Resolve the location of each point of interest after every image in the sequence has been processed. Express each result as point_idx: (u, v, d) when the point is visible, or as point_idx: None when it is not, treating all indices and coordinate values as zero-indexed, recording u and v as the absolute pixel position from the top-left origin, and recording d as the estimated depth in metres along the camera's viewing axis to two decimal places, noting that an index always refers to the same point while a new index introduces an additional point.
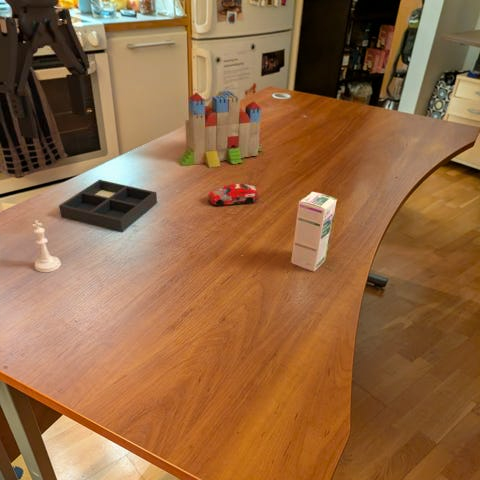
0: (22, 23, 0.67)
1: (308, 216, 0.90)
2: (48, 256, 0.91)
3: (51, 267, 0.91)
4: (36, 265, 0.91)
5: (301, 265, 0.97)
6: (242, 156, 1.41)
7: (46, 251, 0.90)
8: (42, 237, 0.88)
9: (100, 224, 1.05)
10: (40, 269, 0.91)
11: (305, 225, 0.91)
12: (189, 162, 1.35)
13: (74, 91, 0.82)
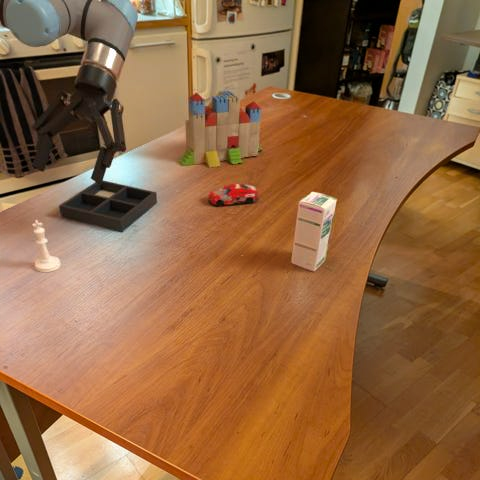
0: None
1: (308, 216, 0.90)
2: (48, 256, 0.91)
3: (51, 267, 0.91)
4: (36, 265, 0.91)
5: (301, 265, 0.97)
6: (242, 156, 1.41)
7: (46, 251, 0.90)
8: (42, 237, 0.88)
9: (100, 224, 1.05)
10: (40, 269, 0.91)
11: (305, 225, 0.91)
12: (189, 162, 1.35)
13: (45, 149, 0.92)
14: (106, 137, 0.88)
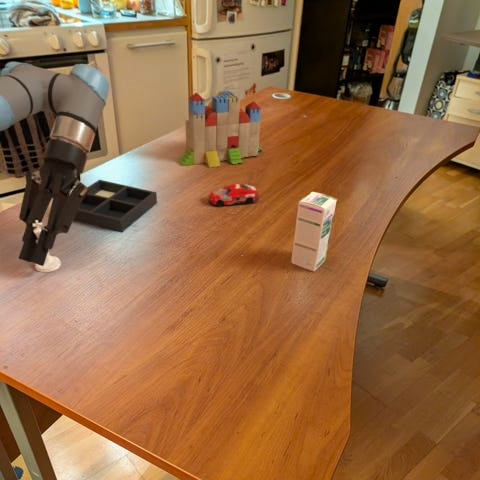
0: None
1: (308, 216, 0.90)
2: (48, 256, 0.91)
3: (51, 267, 0.91)
4: (36, 265, 0.91)
5: (301, 265, 0.97)
6: (242, 156, 1.41)
7: None
8: None
9: (100, 224, 1.05)
10: (40, 269, 0.91)
11: (305, 225, 0.91)
12: (189, 162, 1.35)
13: (32, 241, 0.88)
14: (51, 220, 0.87)
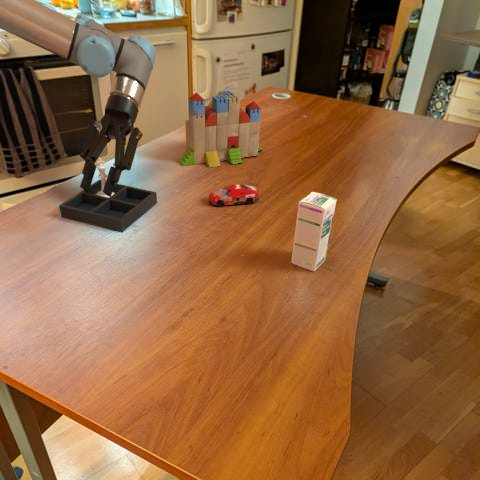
0: None
1: (308, 216, 0.90)
2: None
3: None
4: None
5: (301, 265, 0.97)
6: (242, 156, 1.41)
7: None
8: (103, 172, 1.11)
9: (100, 224, 1.05)
10: None
11: (305, 225, 0.91)
12: (189, 162, 1.35)
13: (90, 173, 1.11)
14: (118, 158, 1.09)
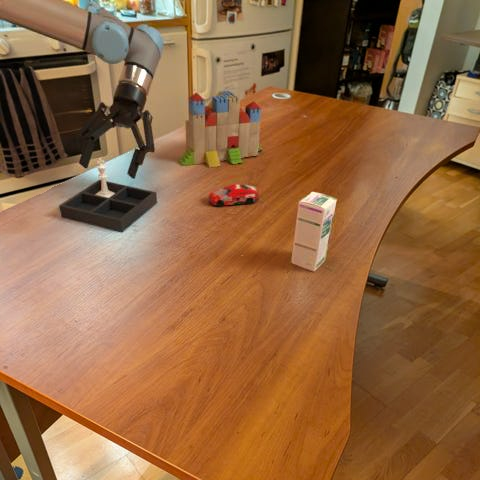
0: None
1: (308, 216, 0.90)
2: (107, 189, 1.14)
3: None
4: None
5: (301, 265, 0.97)
6: (242, 156, 1.41)
7: (105, 185, 1.13)
8: (103, 172, 1.11)
9: (100, 224, 1.05)
10: None
11: (305, 225, 0.91)
12: (189, 162, 1.35)
13: (88, 150, 1.14)
14: (139, 141, 1.10)
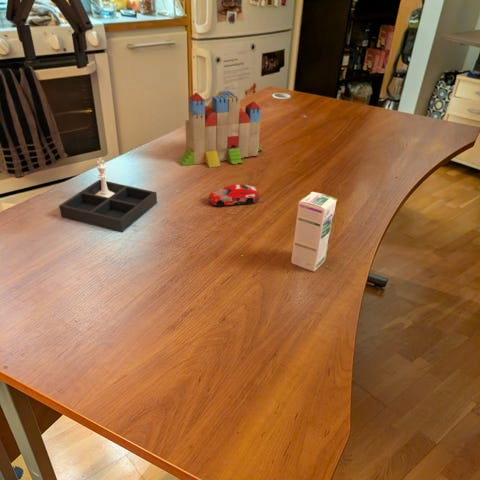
0: None
1: (308, 216, 0.90)
2: (107, 189, 1.14)
3: None
4: None
5: (301, 265, 0.97)
6: (242, 156, 1.41)
7: (105, 185, 1.13)
8: (103, 172, 1.11)
9: (100, 224, 1.05)
10: None
11: (305, 225, 0.91)
12: (189, 162, 1.35)
13: (27, 39, 1.02)
14: (72, 22, 0.95)
